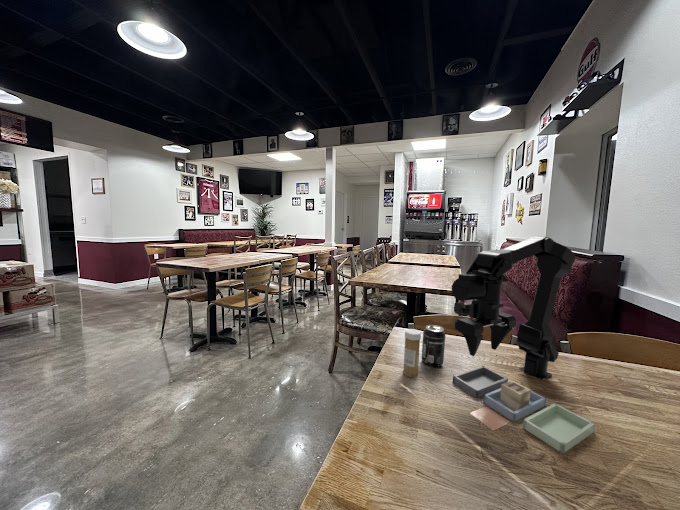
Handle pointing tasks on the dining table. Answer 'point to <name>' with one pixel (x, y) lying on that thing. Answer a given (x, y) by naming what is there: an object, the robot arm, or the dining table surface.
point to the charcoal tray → (479, 381)
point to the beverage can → (433, 345)
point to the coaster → (489, 418)
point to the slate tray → (514, 415)
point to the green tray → (558, 427)
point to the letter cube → (514, 395)
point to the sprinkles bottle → (411, 352)
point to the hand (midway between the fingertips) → (483, 352)
